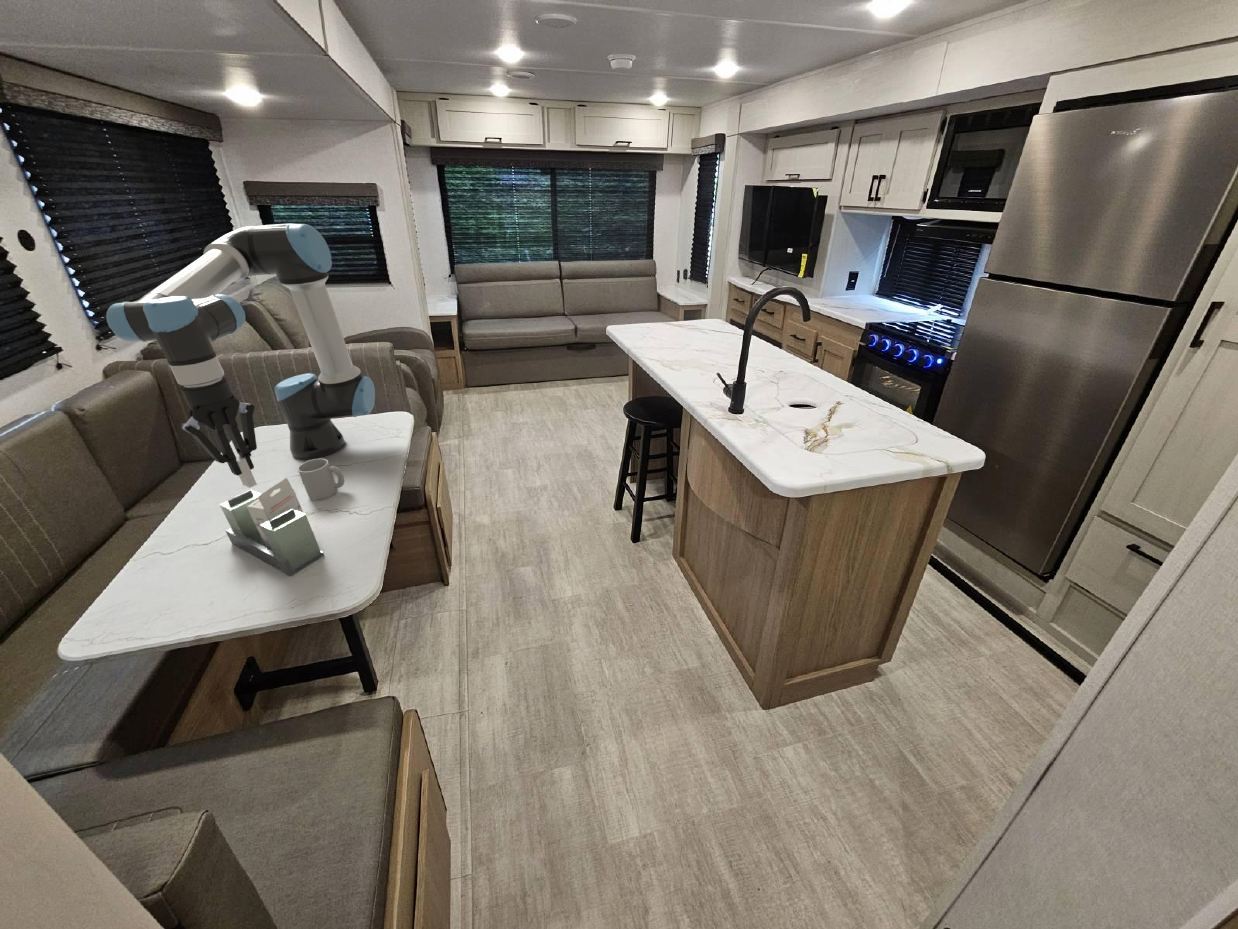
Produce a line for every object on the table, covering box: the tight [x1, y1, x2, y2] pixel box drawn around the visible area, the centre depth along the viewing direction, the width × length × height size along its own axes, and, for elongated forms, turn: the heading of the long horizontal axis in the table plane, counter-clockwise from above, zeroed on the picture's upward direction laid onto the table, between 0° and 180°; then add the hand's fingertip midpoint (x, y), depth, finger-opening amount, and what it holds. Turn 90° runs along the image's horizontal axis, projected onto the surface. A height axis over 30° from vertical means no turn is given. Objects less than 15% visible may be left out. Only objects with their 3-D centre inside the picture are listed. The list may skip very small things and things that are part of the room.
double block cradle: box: [219, 489, 325, 577], centre depth 118 cm, size 8×24×12 cm, turn 59°
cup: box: [297, 458, 345, 501], centre depth 140 cm, size 7×10×9 cm
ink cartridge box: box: [247, 478, 304, 549], centre depth 119 cm, size 9×5×15 cm, turn 166°
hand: (250, 484), depth 113 cm, fingers closed
